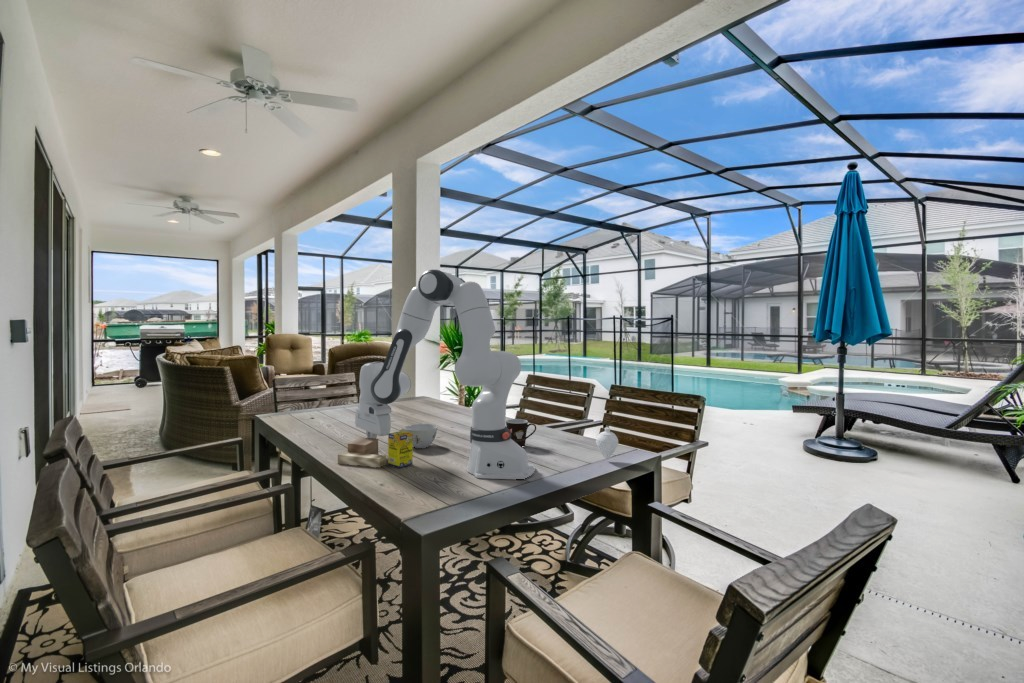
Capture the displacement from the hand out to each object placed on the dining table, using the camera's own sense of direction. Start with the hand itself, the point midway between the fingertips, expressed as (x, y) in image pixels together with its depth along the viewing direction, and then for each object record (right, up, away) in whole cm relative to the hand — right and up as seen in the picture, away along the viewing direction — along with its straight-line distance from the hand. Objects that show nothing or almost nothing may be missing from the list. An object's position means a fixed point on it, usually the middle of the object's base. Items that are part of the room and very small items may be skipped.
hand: (371, 443), depth 171 cm
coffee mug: (+55, -4, +13) cm, 56 cm away
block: (-1, -4, -5) cm, 6 cm away
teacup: (+15, -4, +11) cm, 19 cm away
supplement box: (+13, -5, -12) cm, 19 cm away
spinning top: (+85, -5, -6) cm, 85 cm away
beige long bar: (0, -4, -12) cm, 12 cm away
